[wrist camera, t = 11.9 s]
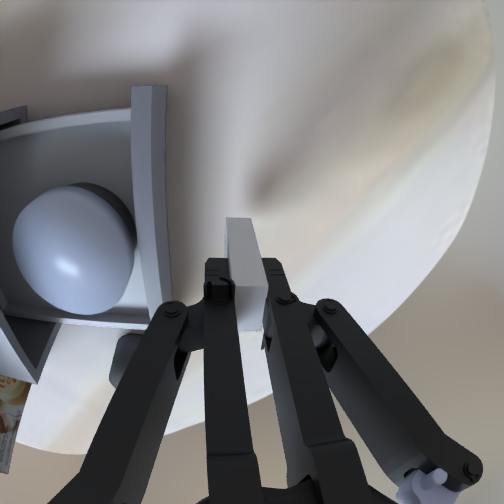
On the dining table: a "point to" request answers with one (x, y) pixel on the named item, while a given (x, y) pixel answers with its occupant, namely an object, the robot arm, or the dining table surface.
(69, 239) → the light blue dome
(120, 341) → the short dark gray cylinder
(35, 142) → the tray
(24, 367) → the gray drawer box
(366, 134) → the dining table surface
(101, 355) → the dining table surface
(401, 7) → the dining table surface
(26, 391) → the coffee box
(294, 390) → the robot arm
